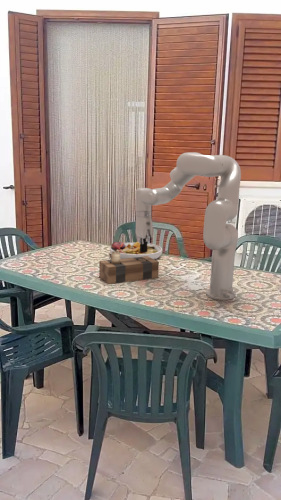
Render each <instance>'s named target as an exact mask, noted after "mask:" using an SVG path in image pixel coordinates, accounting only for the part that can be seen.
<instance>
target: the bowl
mask: <svg viewBox="0 0 281 500" xmlns="http://www.w3.org/2000/svg"><path fill="white" fill-rule="evenodd" d="M113 251H118V252H120V259H124V258H134V257H143V256H148V257H150V258H152V259H154V260H157V259H158V258H160V256H161V255H162V253H163V248H162V247H161V246H160V245H157V244H153V243H149V242H148V244H147V252H140V242H139V241H136V242H135V241H133V242H132V241H130V242H122V241H114V242H113V243H112V244H111V246H110V247H109V253H110V254H111V256H112V252H113Z"/></svg>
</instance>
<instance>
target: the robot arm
mask: <svg viewBox="0 0 281 500" xmlns="http://www.w3.org/2000/svg"><path fill="white" fill-rule="evenodd" d="M197 176H199V177H204V178H205V177H207V178H213V177H220V183H219V184H218V188H217V189H218V192H217V193H218V194H217V199H214V200H212V201H211V202H209V204H208V205H207V206H206V208H205V211H204V220H203V235H202V237H203V238H202V239H203V242H204V245H205V246H206V247H207V249H210V250H212V254H211V266H210V281H209V289H207V290H206V292H205V294H206V297H208V298H210V299H212V300H217V301H228V300H229V301H231V300H234V298H236V296H237V293H236V292H234V287H233V283H234V282H233V281H234V270H235V269H234V268H235V257H236V250H237V249H236V248H237V245H238V239H239V233H238V232H239V231H238V230H237V228H236V227H235V225H233V224H231V223H227V222H230V221H232V220H234V219H236V217H237V215H238V209H239V199H240V187H241V180H242V179H241V178H242V171H241V167H240V165H239V163H238V162H237V160H235V158H233V157H232V156H229V155H225V154H224V155H223V154H218V155H217V154H215V155H214V154H213V155H209V154H202V153H200V152H197V151H195V152H194V151H193V152H191V151H190V152H189V151H188V152H183V153H181V154H180V155H179V156H178V157H177V159H176V166H175V167H174V168H173V169H171V171H170V172H169V177H170V181H169V182H168V183H167V184H165V185H164V186H163V187H157V188H156V187H155V188H149V187H138V188H136V190H135V235H136V237H137V239H138V240H139V241H138V242H140V252H147V244H148V243H149V242H150V241H151V240H150V239H152V238H154V231H153V229H154V227H153V226H154V225H153V219H152V206H157V205H158V206H159V205H164V204H165V205H166V204H168V203H169V202H171V201H173V199H175V198H176V197H177V196H178V195H179V194H180V193H181V192H182V190H183V189H184V186H185V185H187V183H189V182H190V181H191V180H193V178H195V177H197Z"/></svg>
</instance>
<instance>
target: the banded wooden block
mask: <svg viewBox="0 0 281 500" xmlns="http://www.w3.org/2000/svg"><path fill="white" fill-rule="evenodd" d="M138 259H146V261H143V262H139V261H138ZM98 262H99V263H98V264H99V273H98V274H99V275H98V276H99V278H100V279H101V280H102V281H104V282H105V283H107V284H108V285H114V284H121V283H127V282H129V283H130V282H135V281H144V280H153V279H158V278H159V268H160V267H159V266H160V261H158V260H157V259H152V258H150V257H148V256H143V257H134V258H124V259H120V264H115V265H113V264H112V259H107V260H99V261H98Z"/></svg>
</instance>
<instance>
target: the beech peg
mask: <svg viewBox="0 0 281 500" xmlns="http://www.w3.org/2000/svg"><path fill="white" fill-rule="evenodd" d="M111 260H112V264H113V265H115V264H120V252H118V251H113V252H112V255H111Z"/></svg>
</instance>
